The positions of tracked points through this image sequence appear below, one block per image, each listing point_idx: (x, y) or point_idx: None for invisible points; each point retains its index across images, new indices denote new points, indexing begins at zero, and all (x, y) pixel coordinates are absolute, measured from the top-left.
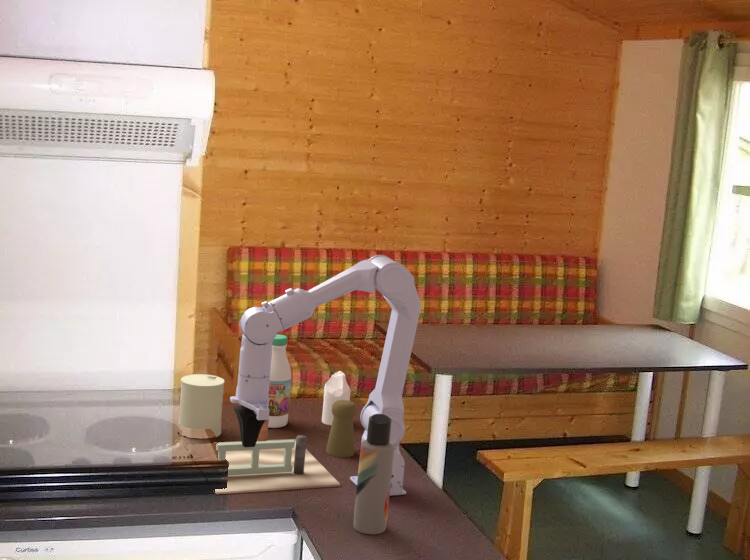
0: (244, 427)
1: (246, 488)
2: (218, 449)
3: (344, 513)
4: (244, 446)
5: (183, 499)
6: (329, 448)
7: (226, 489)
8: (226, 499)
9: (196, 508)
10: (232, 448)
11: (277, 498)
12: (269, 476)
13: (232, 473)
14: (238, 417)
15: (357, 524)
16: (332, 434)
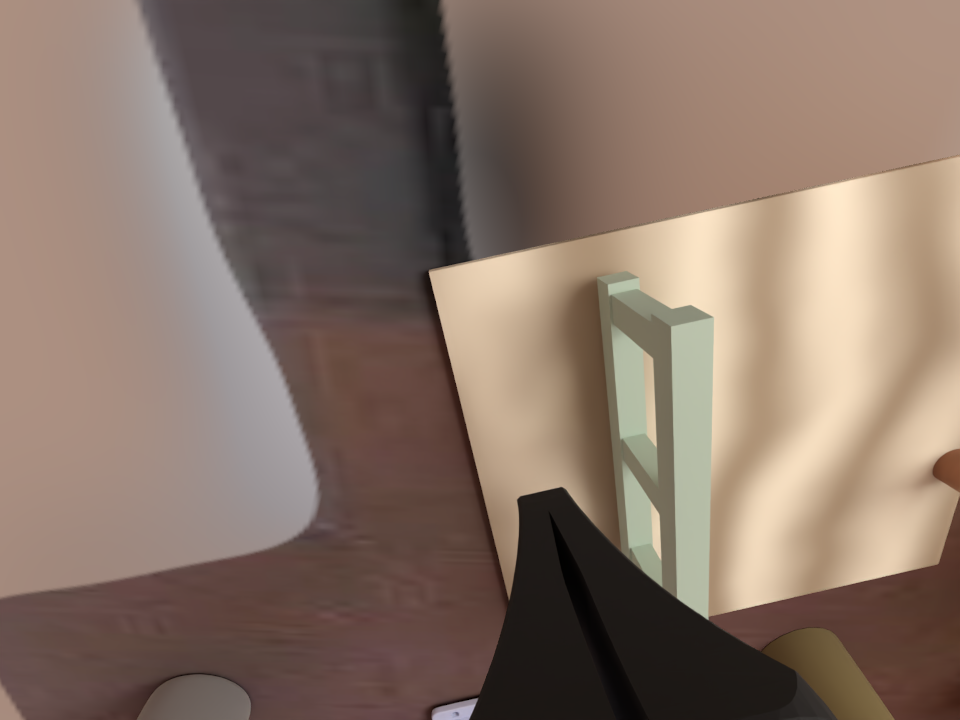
0: (502, 633)
1: (479, 396)
2: (659, 321)
3: (304, 655)
4: (518, 501)
5: (352, 99)
6: (802, 651)
7: (464, 317)
8: (376, 311)
9: (244, 166)
10: (661, 401)
11: (407, 492)
12: (602, 478)
13: (606, 352)
14: (640, 650)
15: (152, 702)
16: (842, 707)
